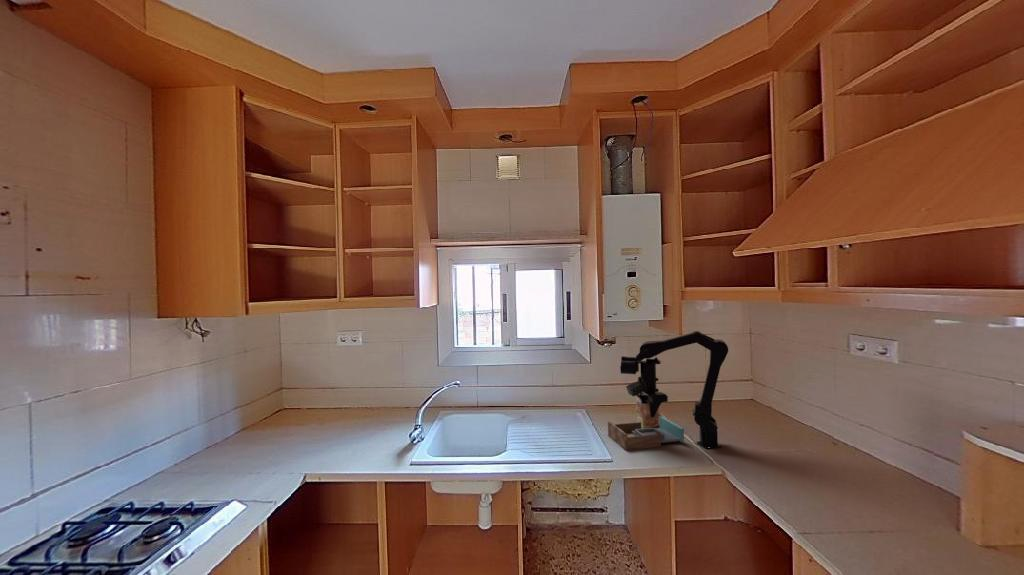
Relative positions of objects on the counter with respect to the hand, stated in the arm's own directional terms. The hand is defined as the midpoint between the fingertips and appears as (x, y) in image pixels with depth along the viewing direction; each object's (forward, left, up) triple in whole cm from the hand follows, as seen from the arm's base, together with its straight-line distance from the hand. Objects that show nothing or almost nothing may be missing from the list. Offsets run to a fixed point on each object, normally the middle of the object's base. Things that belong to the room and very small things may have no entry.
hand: (649, 415), depth 179 cm
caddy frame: (0, +7, -10) cm, 12 cm away
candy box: (+15, -7, -10) cm, 19 cm away
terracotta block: (0, 0, -1) cm, 1 cm away
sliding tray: (0, -3, -9) cm, 9 cm away
